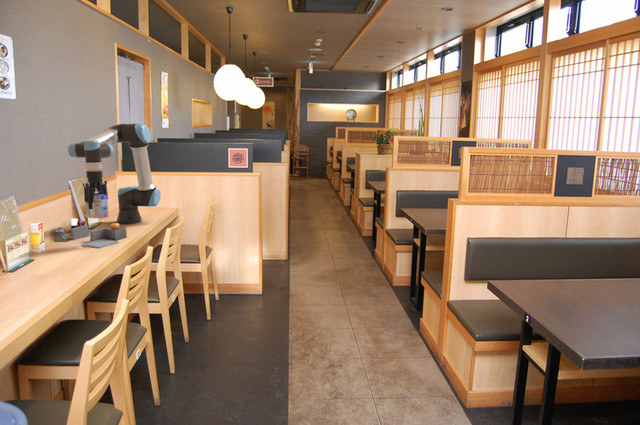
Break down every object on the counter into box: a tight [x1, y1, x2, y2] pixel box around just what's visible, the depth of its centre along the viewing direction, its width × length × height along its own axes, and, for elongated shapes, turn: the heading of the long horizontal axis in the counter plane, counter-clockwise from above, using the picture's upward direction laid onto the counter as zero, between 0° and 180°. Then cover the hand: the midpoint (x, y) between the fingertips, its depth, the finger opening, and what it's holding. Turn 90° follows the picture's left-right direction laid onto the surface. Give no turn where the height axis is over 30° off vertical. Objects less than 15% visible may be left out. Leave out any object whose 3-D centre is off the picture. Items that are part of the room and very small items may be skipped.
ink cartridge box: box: [84, 189, 110, 220], centre depth 247 cm, size 10×6×14 cm, turn 77°
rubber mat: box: [80, 239, 120, 249], centre depth 251 cm, size 13×13×1 cm
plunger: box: [110, 222, 120, 229], centre depth 263 cm, size 4×4×6 cm
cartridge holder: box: [70, 225, 107, 242], centre depth 263 cm, size 10×16×6 cm, turn 69°
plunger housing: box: [104, 226, 128, 241], centre depth 263 cm, size 8×8×6 cm
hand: (97, 214), depth 248 cm, fingers closed on ink cartridge box, 6 cm apart
